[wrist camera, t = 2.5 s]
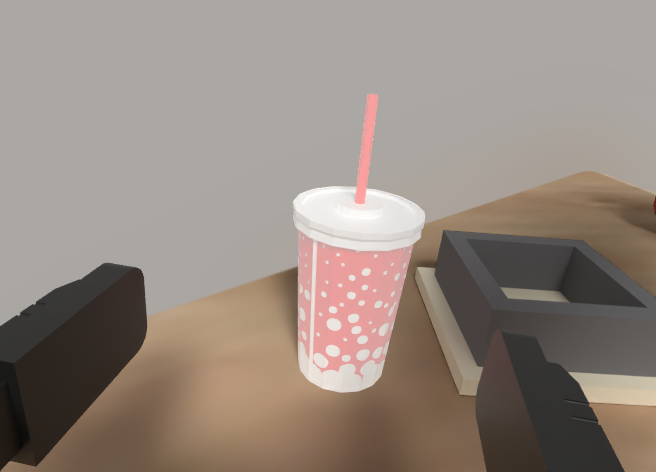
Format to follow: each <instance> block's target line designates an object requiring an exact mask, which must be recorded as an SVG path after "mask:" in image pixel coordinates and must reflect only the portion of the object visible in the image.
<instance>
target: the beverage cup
mask: <svg viewBox="0 0 656 472" xmlns="http://www.w3.org/2000/svg"><path fill="white" fill-rule="evenodd" d="M378 96H379V95H378V94H373V93H368V94H367V101H366V110H365V119H364V127H363V135H362V144H361V152H360V161H359V171H358V178H357V187H342V186H340V187H339V186H332V187H324V188H315V189H312V190H309V191H306V192H303V193H301V194H299V195H298V196H297V198H296V199H295V200H294V201H293V209H294V215H293V220H294V223H295V226H296V228H297V229H298V361H299V367H300V370H301V372H302V373H303V374H304V375H305V377H306V378H307V379H308V380H309V381H310V382H312V383H314V384H316V385H318V386H319V387H321V388H323V389H327V390H331V391H336V392H340V393H342V392H358V391H361V390H363V389H365V388H368V387H370V386H372V385H373V384H374V383H375V382H376V381H377V380H378V379H379V378H380V377H381V373H382V369H383V365H384V361H385V357H386V353H387V349H388V345H389V341H390V337H391V333H392V329H393V325H394V321H395V317H396V313H397V309H398V305H399V301H400V297H401V293H402V289H403V285H404V281H405V277H406V273H407V269H408V265H409V261H410V257H411V253H412V249H413V245H414V243H415V242H416V241H417V240H419V239H420V238H421V230H422V229H423V227H424V221H425V212H424V211H423V210H422V209H421V208H420V207H419V206H418V205H417V204H415V203H413V202H411V201H409V200H407V199H405V198H403V197H401V196H398V195H394V194H391V193H387V192H384V191H380V190H374V189H367V182H368V175H369V167H370V159H371V151H372V143H373V135H374V127H375V119H376V112H377V103H378Z"/></svg>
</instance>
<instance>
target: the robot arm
mask: <svg viewBox="0 0 656 472" xmlns="http://www.w3.org/2000/svg"><path fill="white" fill-rule="evenodd" d="M146 332H147V316H146V303H145V287H144V276H143V273H142V271H141V270H140V269H139V268H136V267H130V266H124V265H118V264H112V263H104V264H102V265H101V266H99V267H98V268H96V269H95V270H93V271H92V272H91V273H89V274H88V275H86V276H85V277H84V278H82V279H81V280H77V281H74V282H72V283H69V284H67V285H64V286H61V287H59V288H56V289H54V290H53V291H52V292H50V293H48V294H47V295H46V296H44V297H42V298H41V299H39V300H38V301H37V302H36V304H35V305H33V304H32V305H31V306H29V307H28V308H26V309H25V310H23V311H22V312H21V313H20V316H17V315H16V316H15V317H13V318H12V319H10V320H9V321H7V322H6V323H4V324H3V325H2V326H0V471H1V470H2V468H3V467H4V466H5V465H6V464H7V463H8V462H9V461H14V462H18V463H23V464H27V465H32V466H37V465H38V464H39V463H40V462H41V461H42V460H43V458H44V457H45V456H46V455H47V454H48V453H49V452H50V451H51V449H52V448H53V447H54V446H55V445H56V444H57V443H58V442H59V440H60V439H61V438H62V437H63V436H64V435H65V434H66V432H67V431H68V430H69V429H70V428H71V427H72V426H73V425H74V423H75V422H76V421H77V420H78V419H79V418H80V417H81V416H82V414H83V413H84V412H85V411H86V410H87V409H88V408H89V407H90V405H91V404H92V403H93V402H94V401H95V400H96V399H97V398H98V396H99V395H100V394H101V393H102V392H103V391H104V390H105V388H106V387H107V386H108V385H109V384H110V383H111V382H112V381H113V379H114V378H115V377H116V376H117V375H118V374H119V373H120V372H121V370H122V369H123V368H124V367H125V366H126V365H127V364H128V363H129V361H130V360H131V359H132V358H133V357H134V356H135V355H136V353H137V352H138V351H139V350H140V348H141V346H142V344H143V342H144V339H145V336H146ZM476 418H477V423H478V428H479V434H480V439H481V444H482V449H483V454H484V460H485V465H486V470H487V472H625V471H624V469H623V468H622V466H621V464H620V462H619V460H618V458H617V456H616V454H615V452H614V450H613V448H612V446H611V444H610V442H609V440H608V439H607V437H606V435H605V433H604V431H603V429H602V427H601V425H598V419H597V417H596V415H595V413H594V412H593V410H592V408H591V407H589V402H588V400H587V398H586V396H585V394H584V392H583V390H582V388H581V386H580V384H579V383H578V382H577V381H576V380H575V379H574V378H573V377H572V376H571V375H570V374H569V373H568V372H567V371H566V370H565V369H564V368H563V367H562V366H561V365H560V364H557V363H551V362H547V360H546V358H545V356H544V354H543V351H542V349H541V347H540V345H539V343H538V340H537V338H536V337H535V336H534V335H529V334H523V333H517V332H511V331H505V330H499V329H497V330H496V331H495V332H494V334H493V336H492V339H491V342H490V346H489V349H488V353H487V356H486V360H485V363H484V367H483V370H482V374H481V377H480V381H479V384H478V388H477V394H476Z"/></svg>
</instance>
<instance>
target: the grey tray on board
mask: <svg viewBox="0 0 656 472" xmlns="http://www.w3.org/2000/svg"><path fill="white" fill-rule="evenodd" d="M415 280H416V283H417V286H418V288H419V291H420V293H421V296H422V299H423V301H424V304H425V306H426V309H427V312H428V314H429V317H430V319H431V322H432V325H433V327H434V330H435V332H436V335H437V338H438V340H439V343H440V345H441V348H442V351H443V353H444V356H445V358H446V361H447V364H448V366H449V369H450V371H451V374H452V377H453V379H454V382H455V384H456V387H457V390H458V392H459V395H472V396H476V394H477V388H478V384H479V381H480V377H481V374H482V370H483V367H484V363H485V360H486V356H487V353H488V349H489V346H490V342H491V339H492V336H493V334H494V332H495V331H496V330H497V329H499V330H505V331H511V332H517V333H523V334H529V335H534V336H535V337H536V338H537V340H538V343H539V345H540V347H541V349H542V351H543V354H544V356H545V358H546V360H547V362H551V363H557V364H560V365H561V366H562V367H563V368H564V369H565V370H566V371H567V372H568V373H569V374H570V375H571V376H572V377H573V378H574V379H575V380H576V381H577V382H578V383H579V384H580V386H581V388H582V390H583V392H584V394H585V396H586V398H587V400H588V402H594V403H611V404H629V405H646V406H656V298H655V297H654V296H652V295H651V294H650V293H649V292H647V291H646V290H645V289H644V288H642V287H641V286H640V285H638V284H637V283H636V282H635V281H633V280H632V279H631V278H630V277H628V276H627V275H626V274H625V273H623V272H622V271H621V270H619V269H618V268H617V267H616V266H614V265H613V264H612V263H611V262H609V261H608V260H607V259H605V258H604V257H603V256H602V255H600V254H599V253H598V252H597V251H595V250H594V249H593V248H592V247H590V246H589V245H588V244H586V243H585V242H584V241H582V240H568V239H555V238H542V237H528V236H515V235H501V234H488V233H475V232H461V231H448V230H443V235H442V240H441V244H440V249H439V254H438V259H437V264H436V268H426V267H417V270H416V275H415Z"/></svg>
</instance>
